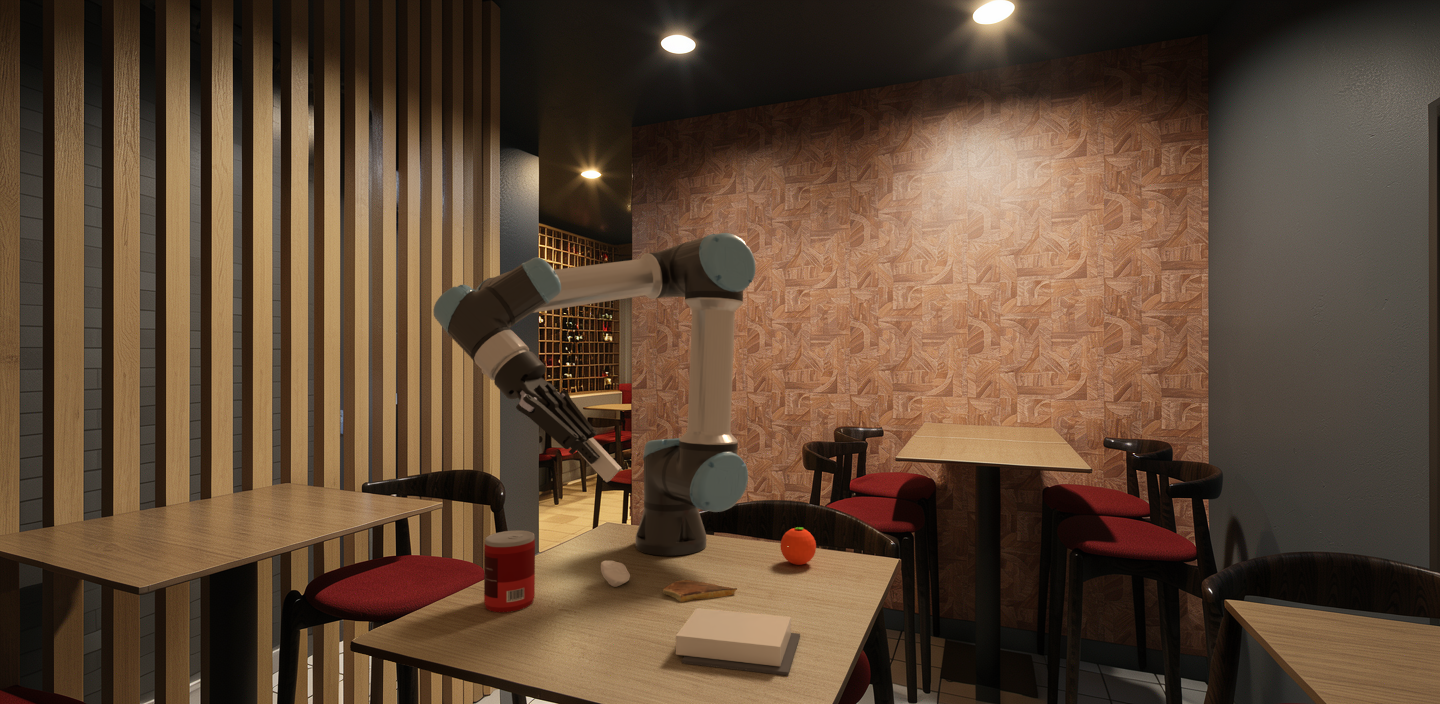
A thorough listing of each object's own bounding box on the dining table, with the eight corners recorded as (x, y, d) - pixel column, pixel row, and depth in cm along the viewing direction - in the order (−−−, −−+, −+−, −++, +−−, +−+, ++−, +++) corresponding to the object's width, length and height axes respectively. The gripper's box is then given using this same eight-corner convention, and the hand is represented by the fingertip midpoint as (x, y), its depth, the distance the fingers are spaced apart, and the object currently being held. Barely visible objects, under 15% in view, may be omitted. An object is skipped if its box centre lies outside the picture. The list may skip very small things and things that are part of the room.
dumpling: (598, 580, 118) (598, 558, 118) (627, 577, 119) (627, 555, 119) (603, 593, 111) (603, 569, 111) (633, 590, 113) (633, 567, 113)
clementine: (785, 555, 132) (785, 520, 132) (819, 559, 130) (819, 523, 130) (776, 567, 125) (776, 530, 125) (812, 571, 123) (812, 533, 123)
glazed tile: (696, 607, 96) (791, 616, 93) (696, 625, 96) (791, 635, 93) (675, 635, 86) (780, 646, 83) (675, 655, 86) (780, 667, 83)
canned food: (543, 597, 109) (543, 531, 109) (516, 615, 101) (516, 544, 101) (503, 593, 111) (503, 528, 111) (473, 610, 103) (474, 541, 103)
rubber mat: (706, 626, 97) (706, 624, 97) (800, 636, 93) (800, 633, 93) (682, 663, 85) (682, 659, 85) (788, 675, 82) (788, 672, 82)
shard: (737, 597, 110) (737, 586, 110) (716, 612, 104) (716, 601, 104) (682, 586, 115) (682, 576, 115) (659, 600, 109) (659, 590, 109)
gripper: (519, 381, 109) (614, 483, 105) (472, 385, 96) (579, 502, 92) (547, 348, 107) (645, 451, 103) (503, 348, 95) (613, 465, 91)
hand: (614, 475), depth 98 cm, fingers closed
